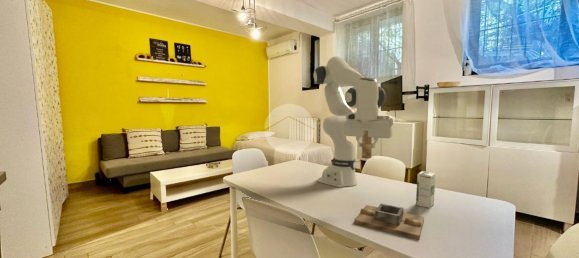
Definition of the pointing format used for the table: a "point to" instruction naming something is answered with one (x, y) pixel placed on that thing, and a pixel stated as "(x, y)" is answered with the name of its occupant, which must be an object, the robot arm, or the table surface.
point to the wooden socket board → (391, 220)
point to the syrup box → (425, 189)
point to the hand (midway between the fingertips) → (366, 147)
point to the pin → (366, 146)
